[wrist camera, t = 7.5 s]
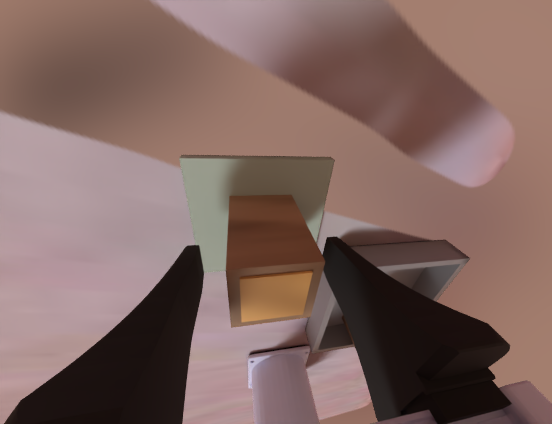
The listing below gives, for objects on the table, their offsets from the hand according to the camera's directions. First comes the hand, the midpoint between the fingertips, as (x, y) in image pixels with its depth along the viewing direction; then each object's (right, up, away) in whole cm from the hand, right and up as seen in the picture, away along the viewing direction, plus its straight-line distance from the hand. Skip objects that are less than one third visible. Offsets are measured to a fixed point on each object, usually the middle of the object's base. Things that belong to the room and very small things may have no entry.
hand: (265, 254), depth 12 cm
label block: (-1, +2, +2) cm, 3 cm away
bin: (+11, -6, +10) cm, 16 cm away
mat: (-1, +2, +3) cm, 4 cm away
